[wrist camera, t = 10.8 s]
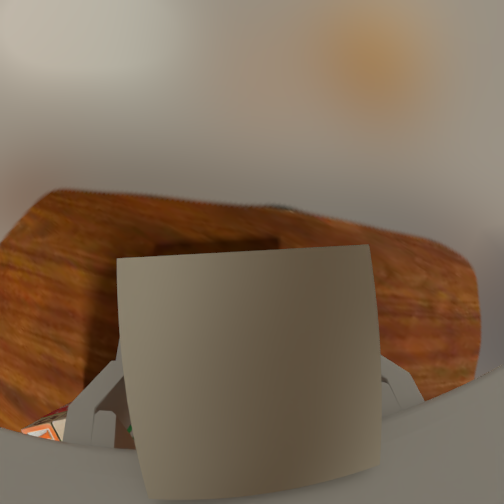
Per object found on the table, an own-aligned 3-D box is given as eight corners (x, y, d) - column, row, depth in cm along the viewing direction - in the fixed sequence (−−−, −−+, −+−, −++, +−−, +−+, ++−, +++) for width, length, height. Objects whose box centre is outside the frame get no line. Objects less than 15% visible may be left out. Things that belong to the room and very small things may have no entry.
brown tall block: (189, 374, 15) (148, 498, 4) (183, 300, 16) (116, 258, 4) (265, 368, 16) (379, 464, 4) (258, 295, 17) (369, 244, 5)
